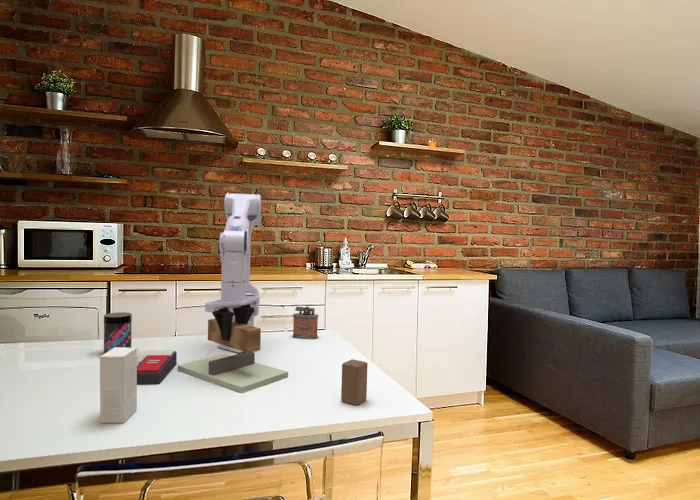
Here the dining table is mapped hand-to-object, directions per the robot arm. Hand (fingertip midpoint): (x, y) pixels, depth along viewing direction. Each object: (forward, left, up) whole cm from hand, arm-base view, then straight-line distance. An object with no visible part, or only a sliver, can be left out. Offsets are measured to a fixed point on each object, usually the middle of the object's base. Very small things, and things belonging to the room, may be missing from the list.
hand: (232, 338), depth 108 cm
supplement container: (-36, -9, -9) cm, 38 cm away
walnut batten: (0, 0, -2) cm, 2 cm away
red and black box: (-15, -13, -9) cm, 22 cm away
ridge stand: (0, 0, -8) cm, 8 cm away
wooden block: (+32, +5, -9) cm, 34 cm away
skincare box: (+4, -29, -9) cm, 31 cm away
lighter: (-11, +38, -9) cm, 40 cm away
